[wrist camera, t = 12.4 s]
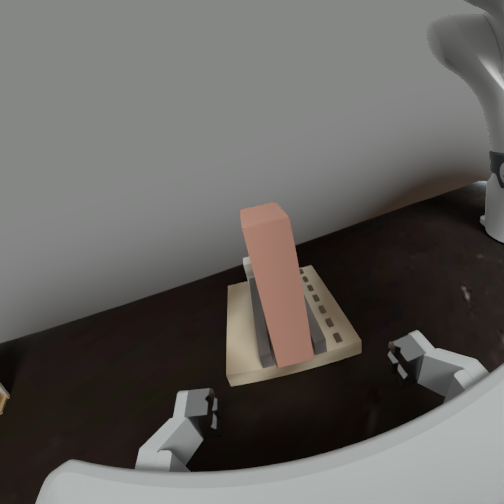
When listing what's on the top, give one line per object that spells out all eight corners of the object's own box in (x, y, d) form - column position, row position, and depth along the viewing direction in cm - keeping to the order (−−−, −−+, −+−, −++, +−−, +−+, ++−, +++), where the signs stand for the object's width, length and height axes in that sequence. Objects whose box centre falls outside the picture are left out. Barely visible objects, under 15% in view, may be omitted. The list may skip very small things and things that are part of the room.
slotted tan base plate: (312, 274, 39) (307, 242, 37) (361, 352, 22) (360, 308, 20) (230, 295, 39) (221, 263, 37) (231, 386, 22) (213, 345, 21)
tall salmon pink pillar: (299, 320, 27) (275, 201, 23) (313, 359, 21) (289, 216, 17) (269, 327, 27) (239, 210, 23) (278, 368, 21) (241, 227, 17)
